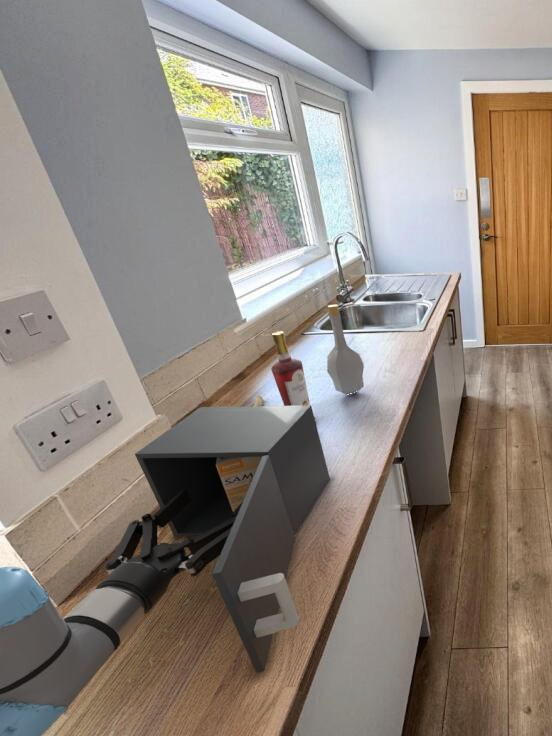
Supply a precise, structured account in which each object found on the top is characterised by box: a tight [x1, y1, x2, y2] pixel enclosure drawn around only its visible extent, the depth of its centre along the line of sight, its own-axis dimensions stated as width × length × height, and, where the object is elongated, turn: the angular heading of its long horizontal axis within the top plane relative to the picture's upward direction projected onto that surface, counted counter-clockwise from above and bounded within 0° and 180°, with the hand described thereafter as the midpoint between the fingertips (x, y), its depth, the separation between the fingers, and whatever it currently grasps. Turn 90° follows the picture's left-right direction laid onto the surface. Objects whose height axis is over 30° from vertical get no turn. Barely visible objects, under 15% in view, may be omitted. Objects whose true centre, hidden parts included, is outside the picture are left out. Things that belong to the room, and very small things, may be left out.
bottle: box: [326, 304, 365, 396], centre depth 125 cm, size 11×11×30 cm
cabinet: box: [134, 404, 331, 538], centre depth 82 cm, size 16×24×20 cm, turn 89°
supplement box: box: [216, 457, 262, 512], centre depth 83 cm, size 8×5×13 cm, turn 120°
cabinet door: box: [211, 455, 301, 674], centre depth 64 cm, size 6×24×20 cm, turn 17°
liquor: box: [270, 331, 316, 419], centre depth 109 cm, size 7×7×28 cm
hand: (222, 493), depth 76 cm, fingers open, 13 cm apart
